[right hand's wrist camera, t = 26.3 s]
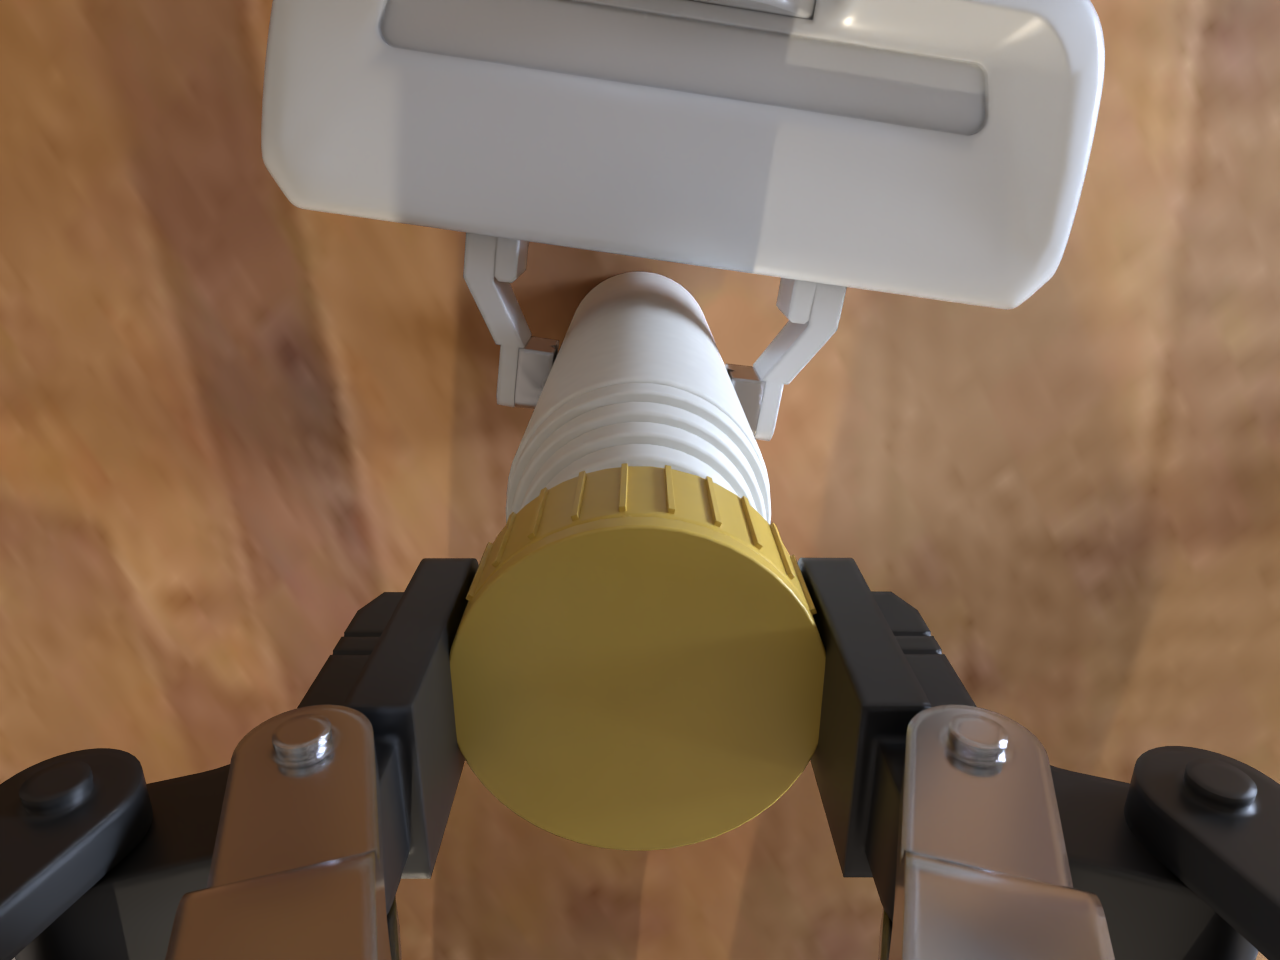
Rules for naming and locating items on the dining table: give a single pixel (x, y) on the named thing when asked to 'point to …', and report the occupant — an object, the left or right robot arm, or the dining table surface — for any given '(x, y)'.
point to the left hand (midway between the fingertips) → (636, 418)
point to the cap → (637, 662)
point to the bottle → (638, 397)
